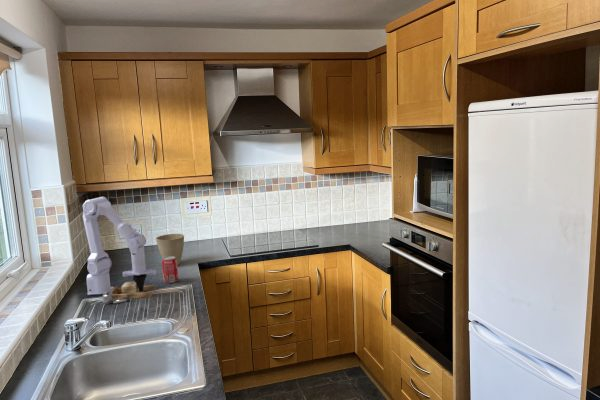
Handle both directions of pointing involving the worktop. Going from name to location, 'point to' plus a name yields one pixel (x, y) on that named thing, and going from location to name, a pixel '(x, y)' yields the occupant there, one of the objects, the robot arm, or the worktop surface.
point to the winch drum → (108, 298)
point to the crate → (129, 288)
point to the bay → (132, 295)
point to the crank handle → (122, 300)
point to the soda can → (170, 269)
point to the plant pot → (171, 245)
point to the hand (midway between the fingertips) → (141, 290)
